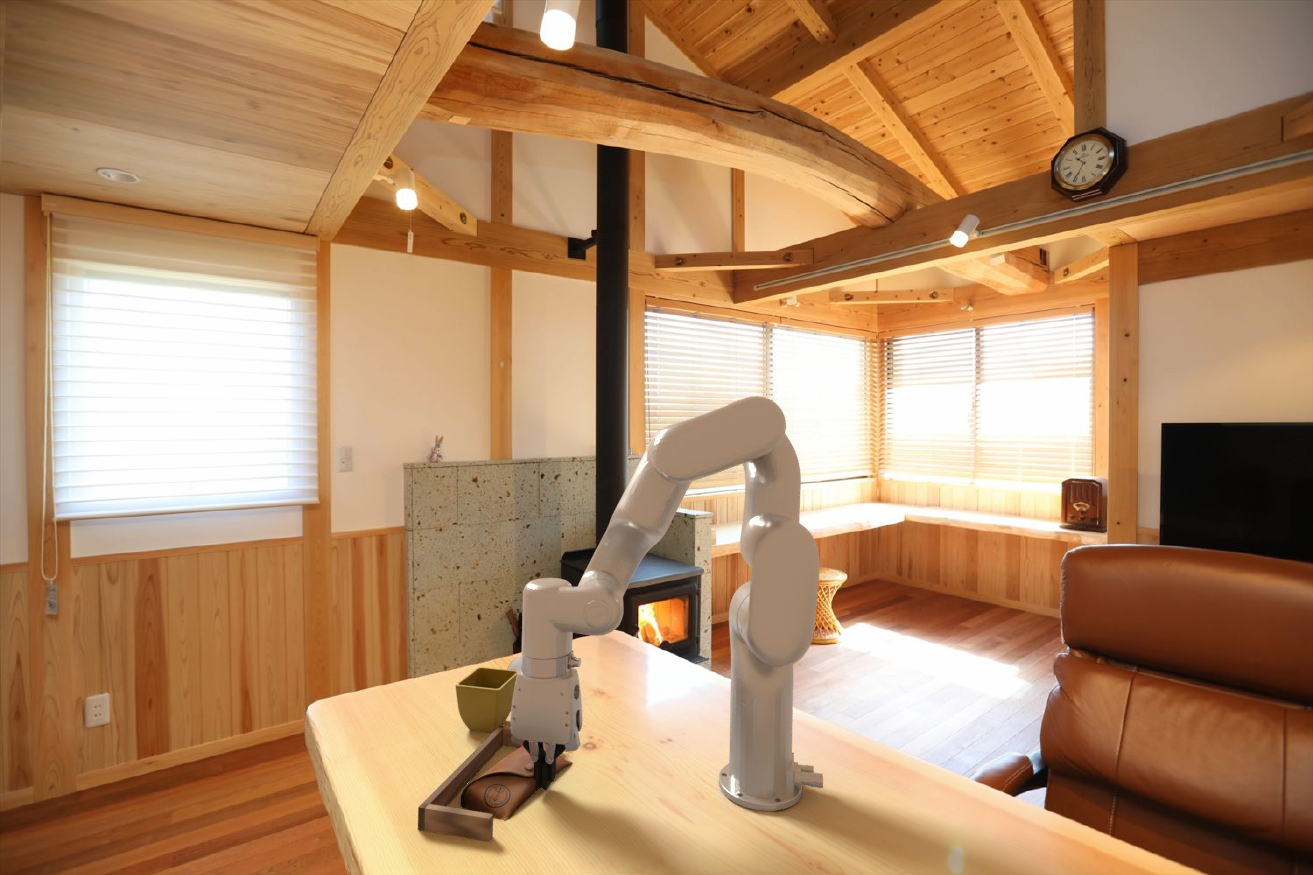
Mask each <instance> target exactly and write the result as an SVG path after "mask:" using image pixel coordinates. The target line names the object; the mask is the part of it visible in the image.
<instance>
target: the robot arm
mask: <svg viewBox="0 0 1313 875" xmlns="http://www.w3.org/2000/svg"><path fill="white" fill-rule="evenodd" d="M786 430H787V420H786V416H785V414H784V412H783V410H782V408H780V405H778V404H777V403H776V402H775V401H773V400H771V399H770V398H768V397H764V396H758V395H757V396H756V395H755V396H754V395H753V396H748V397H747V396H746V397H744V398H742V399H737V400H735V401H732V402H730V403H728V404H727V405H725V406H722V407H719V408H716V409H714V410H711V411H709V412H707V413H704V414H700V415H698V416H695V417H692V418H689V419H686V420H683V421H679V422H676V423H672V424H669V425H666V426H663V427H661V428H660V429H659V430H657V431H656V433H655V434H654V435H653V437H652V438H651V440H650V442H649V443H648V445H647V447H646V449H645V451H644V452H643V455H642V457H641V459H640V460H639V461H638V462H639V463H638V465H637V467H636V469H635V471H634V473H633V475H632V477H631V479H630V480H629V482H628V485H627V486H626V488H625V490H624V492H623V494H622V496H621V497H620V500H619V501H618V504H617V505H616V507H615V509H614V511H613V513H612V515H611V518H610V520H609V524H608V525H607V528H606V531H605V532H604V534H603V536H602V538H601V539H600V541H599V544H598V546H597V547H596V549H595V551H594V553H593V555H592V557H591V559H590V561H589V563H588V565H587V567H586V568H585V570H584V573H583V574H582V577H581V579H580V581H579V583H578V585H577V586H572V584H571V582H569V581H568V580H566V579H562V578H560V577H559V578H556V577H545V578H536V579H533V580H531V581H529V582H527V583H526V584H525V586H524V588H523V590H522V615H521V616H522V618H521V619H522V621H521V622H522V624H521V625H522V626H521V629H522V631H521V657H522V663H521V668H520V670H519V671H518V673H517V677H516V682H515V686H514V692H513V698H512V707H511V712H510V726H511V733H512V736H511V741H512V742H513V743H515V744H518V745H520V746H523V747H524V748H525V749H526V750H527V752H528V753H529V754H530V758H531V760H532V761H533V762H534V780H536V789H539V790H542V791H548V789H549V787H550V786H551V784H552V783H553V782H555V781H556V777H557V775H556V758H557V757H558V756H560V755H561V756H562V754H563V753H567V752H575V751H578V749H579V748H580V746H581V739H580V734H579V732H581V730H582V727H583V704H582V702H583V701H582V693H581V684H580V678H579V672H578V670H577V669H576V668H580V667H581V664H582V659H581V657H577V656H575V655H574V653H575V652H574V650H573V636H574V635H573V634H581V635H586V636H596V637H598V636H605V635H608V634H611V633H612V632H614V631H615V630H616V629H617V628H618V627H619V626H620V624H621V622H622V620H623V616H624V595H625V594H626V591H627V589H628V587H629V585H630V583H631V581H632V579H633V577H634V575H635V573H636V571H637V570H638V568H639V565H640V564H641V562H642V561H643V559H644V558H645V556H646V555H647V553H648V552H649V551H650V550H651V549H652V548H653V547H654V546H655V545H657V544H658V543H659V542H660V541H661V540H662V539H663V538H664V535H666V533H667V531H668V529H669V528H670V526H671V524H672V521H673V520H674V517H675V516H676V514H677V511H678V509H679V507H680V505H681V503H682V502H683V499H684V497H685V496H686V493H687V491H689V487H690V486H691V484H692V482H694V481H698V480H701V479H703V478H706V477H710V476H712V475H713V476H714V475H716V474H719V473H722V472H724V471H726V470H729V469H732V468H734V467H736V466H740V465H741V464H742V467H743V471H744V480H745V481H744V485H745V486H744V488H745V489H744V504H743V514H742V524H741V533H740V540H739V549H740V554H741V556H742V558H743V560H744V562H745V564H747V566H749V568H751V570H750V571H751V572H750V574H751V575H750V580H749V581H746V582H744V583H743V584H742V585H740V586H739V587H738V588H736V591H735V592H734V594H733V596H732V598H731V601H730V604H729V611H728V628H729V629H728V630H729V642H730V643H729V644H730V699H729V700H730V702H729V704H730V705H729V706H730V711H729V762H728V763H727V764H726V765H724V766H723V767H722V769H721V770H720V772H719V775H718V784H719V785H718V786H719V789H720V790H721V792H722V793H723V794H724V795H725V796H726V798H728V799H729V800H730V801H732V802H734V804H737V805H739V806H742V807H744V808H747V809H750V810H756V811H761V810H762V811H764V812H774V811H775V812H776V811H779V810H780V811H782V810H785V809H788V808H790V807H792V806H794V805H796V803H798V802H799V801H800V799H801V798H802V793H803V789H802V788H803V786H808V787H812V788H817V789H823V788H824V775H823V773H819V772H815V771H814V770H815V769H814V765H811V764H810V765H808V764H805V765H804V764H799V762H797V761H795V757H794V756H795V755H794V754H795V753H794V752H793V721H794V720H793V717H794V716H793V714H794V711H793V710H794V709H793V707H794V702H793V701H794V664H796V663H798V661H800V660H801V659H803V658H804V656H805V655H806V653H807V652H808V651H809V648H810V646H811V644H812V642H813V637H814V633H815V624H816V616H817V604H818V594H819V593H818V592H819V581H820V568H821V565H820V563H821V562H820V554H819V552H820V551H819V549H818V545H817V542H816V539H815V538H814V536H813V534H812V533H811V532H810V530H808V529H807V527H805V526H804V524H801V523H800V516H801V515H800V514H801V512H800V511H801V510H800V509H801V488H802V487H801V484H802V483H801V482H802V480H801V479H802V478H801V477H802V476H801V468H800V467H801V466H800V462H799V459H798V456H797V451H796V450H795V448H794V446H793V444H792V442H791V440H790V439H789V437H788V435H787V434H786ZM544 743H548V746H547V752H545V744H544ZM781 809H782V810H781Z"/></svg>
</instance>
